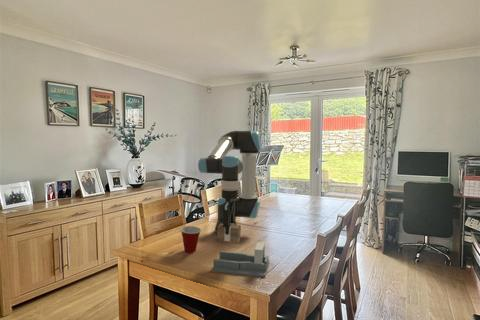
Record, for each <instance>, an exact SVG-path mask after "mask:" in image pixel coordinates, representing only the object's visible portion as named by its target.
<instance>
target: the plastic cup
mask: <svg viewBox="0 0 480 320" xmlns="http://www.w3.org/2000/svg"><path fill="white" fill-rule="evenodd" d="M180 232H181V236H182V243H183V248H184V252H185V253H187V254H192V253H196V250H197V247H198V242H199V238H200V234H201V232H202V229H201V228H200V227H199V226H193V225H188V226H187V225H186V226H183V227H180Z"/></svg>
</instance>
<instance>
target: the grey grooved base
mask: <svg viewBox="0 0 480 320" xmlns="http://www.w3.org/2000/svg"><path fill="white" fill-rule="evenodd" d="M265 246H266V243H265V242H257V243H256V245H255V248H254V251H253V252H254V254H248V253H243V252H234V251H226V250H225V251H224V250H219V258H218V259H216V258H213V262H212V263H213V266H212V268H211V272H214V273H225V274H232V275H240V276H241V275H242V276H249V277H256V278H266V276H267V273H268V269H269V265H270V257H269V255H265V252H266V247H265Z"/></svg>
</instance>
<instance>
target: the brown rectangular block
mask: <svg viewBox="0 0 480 320" xmlns="http://www.w3.org/2000/svg"><path fill="white" fill-rule="evenodd" d="M230 227H231V239H230V241H224V232H225V227H223V224H221V223H220V224H219V225H218V226H217V234H216V242H220V243H230V244H231V243H232V244H239V243H240V241H241V236H242V235H241V233H242V231H241V230H242V225H241V224H237V225H233V224H230Z"/></svg>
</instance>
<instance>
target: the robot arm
mask: <svg viewBox="0 0 480 320" xmlns="http://www.w3.org/2000/svg"><path fill="white" fill-rule="evenodd" d="M261 139H262V138H261V134H260V133H259V132H258V131H256V130H233V131H229V132H227V133H225V134H224V135H222V136H221V137H220V138H219V139H218V141H217V144H216V146H215V147H214V149H213V150H212V151H211V152H210V154H208V156H207V157H202V158H200V159H199V160H198V164H197V165H198V166H197V168H198V172H200V173H202V174H220V175H221V182H220V184H221V189H222V190H221V197H219V198H218V200H217V221H216V224H215V226H214V234H216V235H217V226H218V225H219V224H220V223H221V224H223V227H225V232H224V241H230V239H231V227H230V224H233V225H238V224H237V218H246V219H248V218H249V219H256V218H257V217H258V216H259V212H260V207H261V200H260V199H259V198H258V197H259V196H258V195H257V194H256V177H257V176H256V175H257V174H256V173H257V172H256V171H257V168H256V167H257V155H258V154H259V151H261V150H262V140H261ZM233 150H235V151H237V150H239V154H241V159H240V158H239V156H237V155H228V153H230V152H231V151H233ZM239 174H241V193H240V195H239V190H238V189H239Z"/></svg>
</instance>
